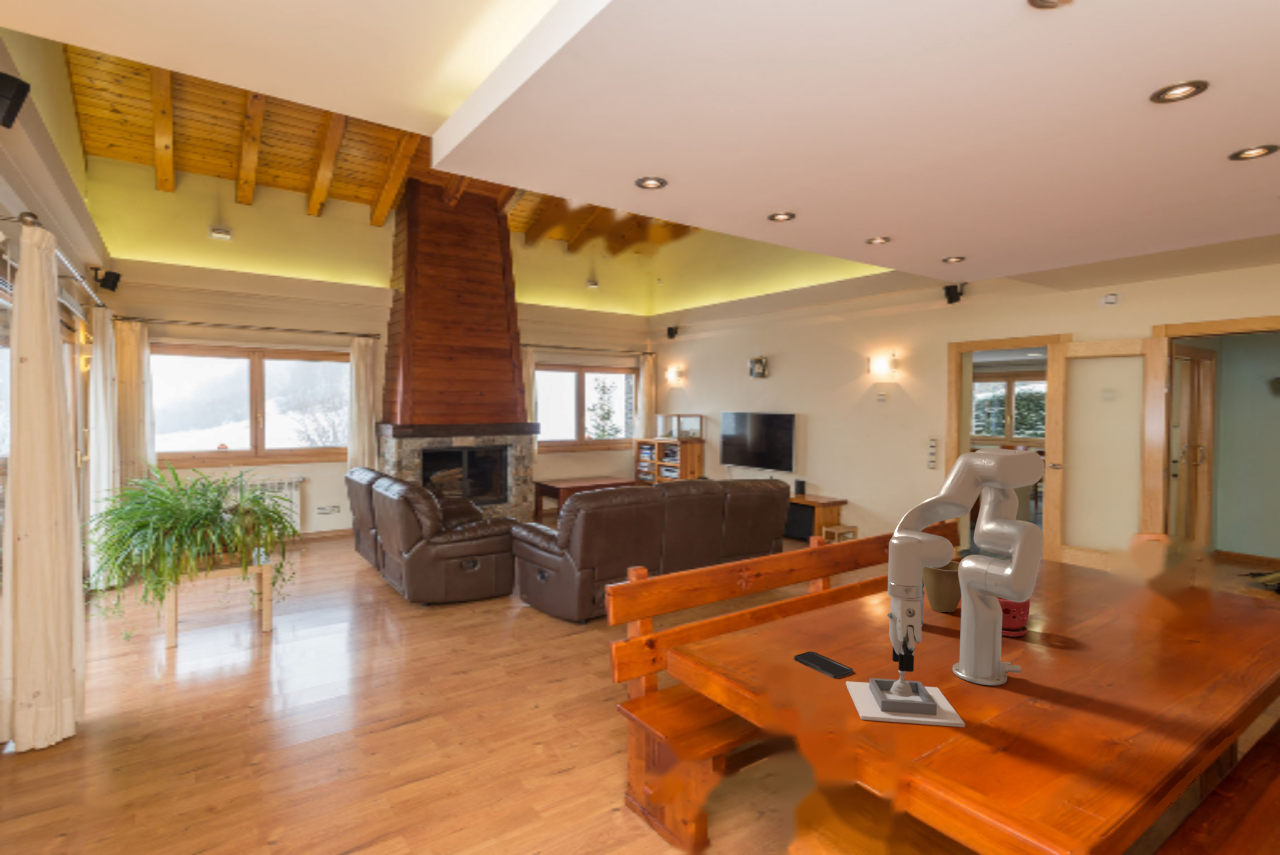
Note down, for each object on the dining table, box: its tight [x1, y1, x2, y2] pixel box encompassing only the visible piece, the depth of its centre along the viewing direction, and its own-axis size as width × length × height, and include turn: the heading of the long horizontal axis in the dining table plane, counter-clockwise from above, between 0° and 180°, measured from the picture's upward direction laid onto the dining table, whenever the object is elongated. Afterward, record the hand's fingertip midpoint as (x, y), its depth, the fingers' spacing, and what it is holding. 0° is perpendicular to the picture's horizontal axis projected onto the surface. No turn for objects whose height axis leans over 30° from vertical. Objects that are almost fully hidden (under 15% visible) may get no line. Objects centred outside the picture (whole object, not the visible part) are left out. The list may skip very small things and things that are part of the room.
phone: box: [793, 650, 854, 679], centre depth 172 cm, size 8×1×15 cm
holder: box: [845, 677, 966, 728], centre depth 150 cm, size 22×18×3 cm
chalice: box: [887, 612, 917, 697], centre depth 150 cm, size 7×7×18 cm
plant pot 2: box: [997, 597, 1030, 638], centre depth 200 cm, size 13×13×12 cm
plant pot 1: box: [923, 560, 961, 613], centre depth 220 cm, size 15×15×16 cm
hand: (902, 665), depth 150 cm, fingers closed on chalice, 4 cm apart
